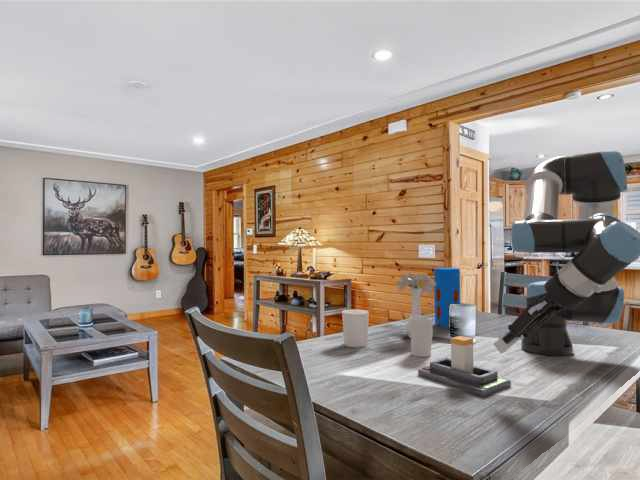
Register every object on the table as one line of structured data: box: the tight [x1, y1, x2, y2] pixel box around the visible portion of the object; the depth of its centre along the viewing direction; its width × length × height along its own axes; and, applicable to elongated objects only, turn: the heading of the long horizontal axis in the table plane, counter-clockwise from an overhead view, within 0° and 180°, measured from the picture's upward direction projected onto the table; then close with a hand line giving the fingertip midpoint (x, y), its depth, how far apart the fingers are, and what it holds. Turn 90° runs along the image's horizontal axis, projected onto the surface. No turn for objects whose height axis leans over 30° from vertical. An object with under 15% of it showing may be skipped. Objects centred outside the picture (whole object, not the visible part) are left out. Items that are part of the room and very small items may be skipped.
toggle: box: [450, 335, 474, 374], centre depth 108 cm, size 4×4×9 cm
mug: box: [409, 315, 434, 358], centre depth 134 cm, size 10×7×12 cm, turn 131°
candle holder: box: [341, 308, 370, 349], centre depth 146 cm, size 10×10×12 cm
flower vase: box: [396, 272, 436, 339], centre depth 158 cm, size 13×18×25 cm
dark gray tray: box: [417, 357, 512, 398], centre depth 108 cm, size 20×12×4 cm, turn 35°
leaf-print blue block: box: [433, 267, 461, 329], centre depth 178 cm, size 11×11×25 cm
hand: (498, 348), depth 98 cm, fingers closed
